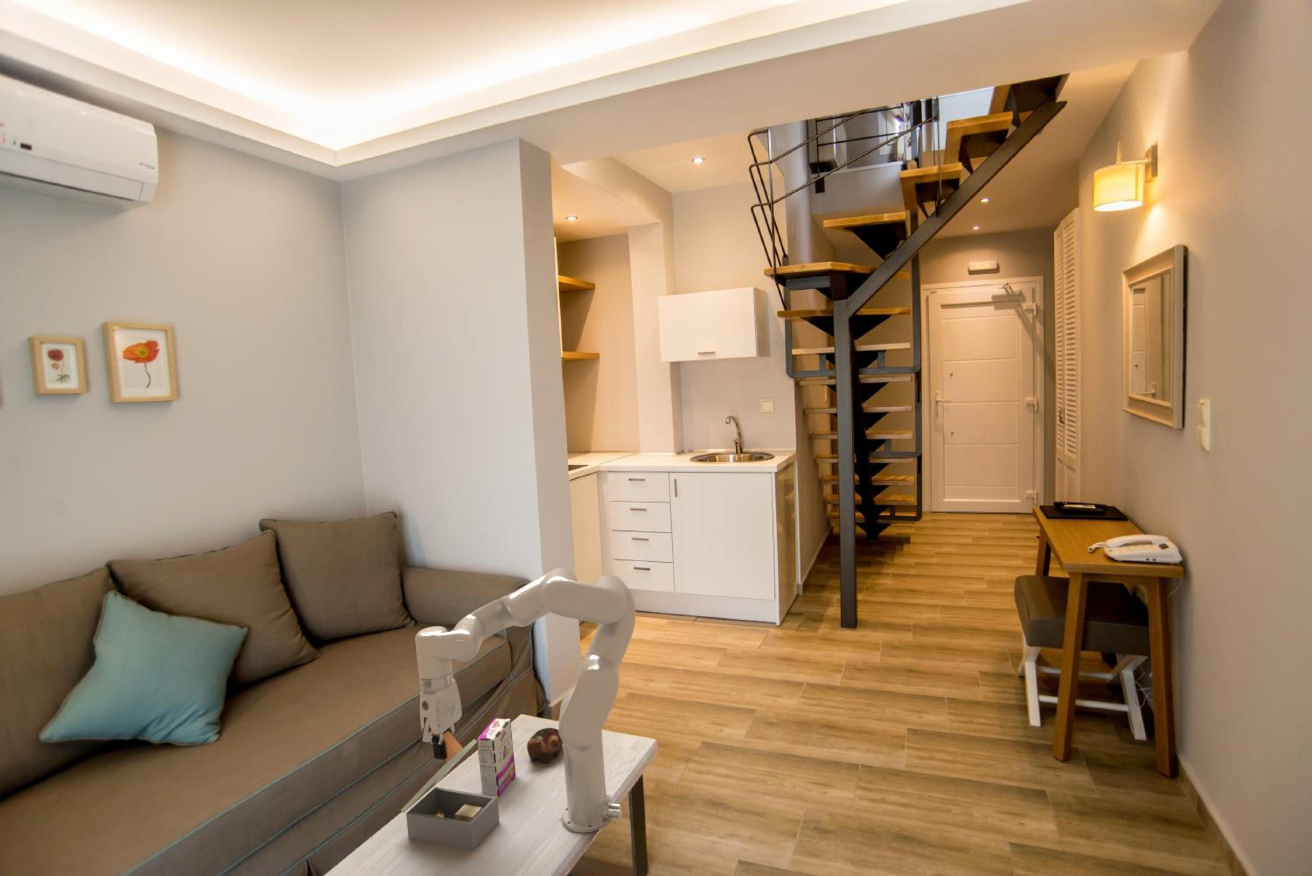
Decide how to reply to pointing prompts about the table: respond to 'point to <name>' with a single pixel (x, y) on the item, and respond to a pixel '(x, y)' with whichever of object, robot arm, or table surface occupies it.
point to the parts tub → (452, 819)
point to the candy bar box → (496, 757)
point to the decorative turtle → (544, 744)
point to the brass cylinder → (437, 813)
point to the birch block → (467, 813)
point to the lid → (453, 756)
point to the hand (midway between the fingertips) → (444, 754)
